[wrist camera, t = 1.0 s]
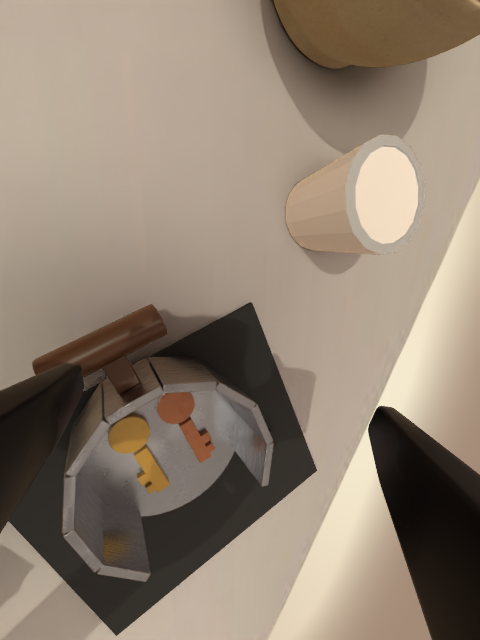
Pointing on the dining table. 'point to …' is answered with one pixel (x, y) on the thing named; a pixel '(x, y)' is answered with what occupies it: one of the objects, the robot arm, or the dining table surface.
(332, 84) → the dining table surface
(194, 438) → the copper key
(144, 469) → the brass key
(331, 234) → the white tapered cylinder
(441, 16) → the planter bowl
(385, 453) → the robot arm
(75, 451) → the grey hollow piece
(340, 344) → the dining table surface
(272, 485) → the mat
